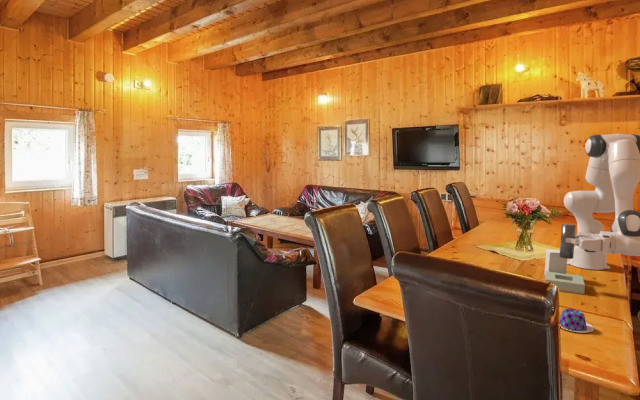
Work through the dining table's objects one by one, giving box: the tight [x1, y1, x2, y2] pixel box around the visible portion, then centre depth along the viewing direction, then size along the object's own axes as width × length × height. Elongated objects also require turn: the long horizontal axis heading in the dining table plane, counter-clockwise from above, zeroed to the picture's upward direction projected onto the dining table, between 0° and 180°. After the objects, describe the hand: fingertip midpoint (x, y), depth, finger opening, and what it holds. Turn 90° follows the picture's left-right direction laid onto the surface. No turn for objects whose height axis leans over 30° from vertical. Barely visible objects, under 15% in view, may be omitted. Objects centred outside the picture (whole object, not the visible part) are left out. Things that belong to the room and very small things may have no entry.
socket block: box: [544, 270, 586, 295], centre depth 169 cm, size 14×14×4 cm
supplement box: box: [543, 248, 568, 276], centre depth 181 cm, size 7×7×13 cm
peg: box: [559, 223, 577, 260], centre depth 167 cm, size 5×5×14 cm
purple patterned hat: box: [559, 308, 595, 334], centre depth 130 cm, size 12×12×5 cm
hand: (565, 238), depth 167 cm, fingers closed on peg, 5 cm apart
